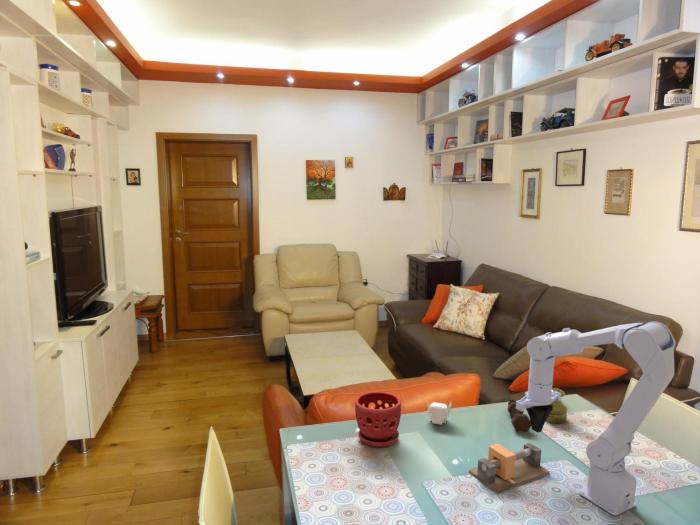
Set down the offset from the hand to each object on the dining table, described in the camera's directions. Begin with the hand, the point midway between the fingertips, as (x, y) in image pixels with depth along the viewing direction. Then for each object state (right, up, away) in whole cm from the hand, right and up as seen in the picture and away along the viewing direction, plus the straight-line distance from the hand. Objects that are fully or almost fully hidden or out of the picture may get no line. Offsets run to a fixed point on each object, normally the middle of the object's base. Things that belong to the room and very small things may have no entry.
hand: (536, 430), depth 131 cm
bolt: (+4, -6, +26) cm, 27 cm away
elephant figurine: (-22, -6, +24) cm, 33 cm away
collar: (-11, -10, -4) cm, 15 cm away
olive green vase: (+15, -6, +27) cm, 32 cm away
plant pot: (-41, -7, +13) cm, 43 cm away
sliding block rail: (-8, -10, -3) cm, 13 cm away
